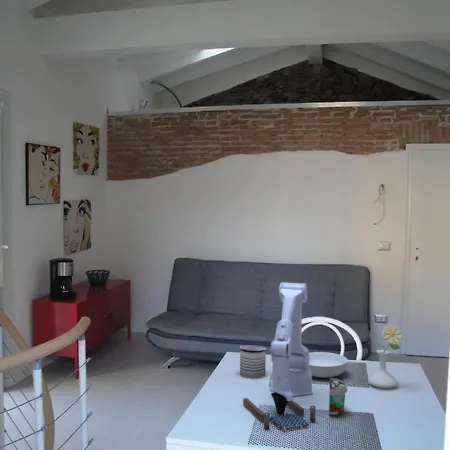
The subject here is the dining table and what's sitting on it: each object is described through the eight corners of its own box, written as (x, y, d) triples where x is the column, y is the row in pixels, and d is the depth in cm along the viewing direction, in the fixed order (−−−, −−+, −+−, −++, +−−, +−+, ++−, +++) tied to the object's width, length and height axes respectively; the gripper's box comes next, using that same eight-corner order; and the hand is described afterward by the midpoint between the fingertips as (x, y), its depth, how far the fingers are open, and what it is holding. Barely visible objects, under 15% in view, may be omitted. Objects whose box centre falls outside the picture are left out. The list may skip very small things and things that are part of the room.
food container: (347, 419, 179) (348, 390, 178) (329, 418, 180) (329, 389, 179) (346, 405, 191) (347, 378, 190) (329, 404, 192) (329, 377, 191)
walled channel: (282, 399, 197) (282, 392, 196) (304, 415, 182) (304, 408, 181) (243, 405, 191) (243, 398, 191) (261, 422, 176) (261, 415, 176)
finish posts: (313, 420, 178) (313, 405, 178) (316, 422, 177) (316, 407, 176) (262, 428, 172) (263, 413, 171) (265, 430, 170) (265, 415, 170)
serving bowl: (311, 364, 240) (311, 349, 240) (355, 372, 228) (355, 357, 228) (288, 376, 223) (289, 360, 223) (335, 386, 211) (335, 369, 211)
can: (234, 375, 224) (234, 347, 224) (250, 368, 233) (250, 341, 232) (255, 380, 217) (255, 352, 216) (271, 374, 226) (271, 346, 225)
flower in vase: (366, 388, 209) (367, 325, 208) (369, 379, 219) (370, 319, 218) (400, 393, 204) (402, 328, 203) (402, 383, 214) (403, 322, 213)
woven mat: (267, 421, 178) (267, 415, 178) (295, 417, 182) (295, 411, 182) (281, 434, 168) (281, 428, 168) (310, 429, 172) (310, 423, 172)
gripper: (261, 369, 185) (261, 407, 186) (279, 383, 172) (279, 424, 172) (279, 367, 188) (279, 405, 188) (299, 380, 174) (298, 421, 175)
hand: (280, 414), depth 181 cm, fingers closed
